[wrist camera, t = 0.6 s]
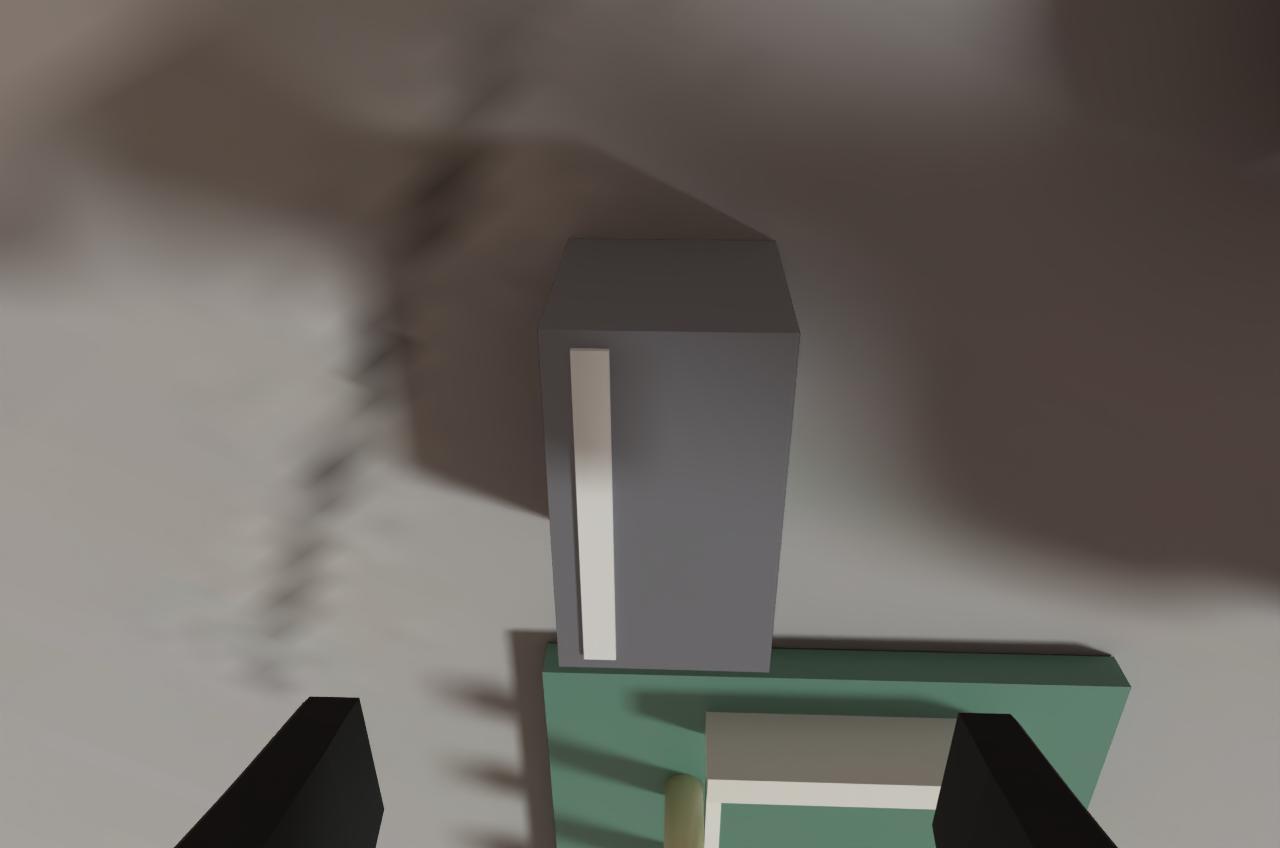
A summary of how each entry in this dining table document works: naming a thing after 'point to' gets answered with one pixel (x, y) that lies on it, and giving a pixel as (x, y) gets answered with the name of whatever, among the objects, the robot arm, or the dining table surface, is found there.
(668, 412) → the block
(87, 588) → the dining table surface
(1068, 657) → the header board
